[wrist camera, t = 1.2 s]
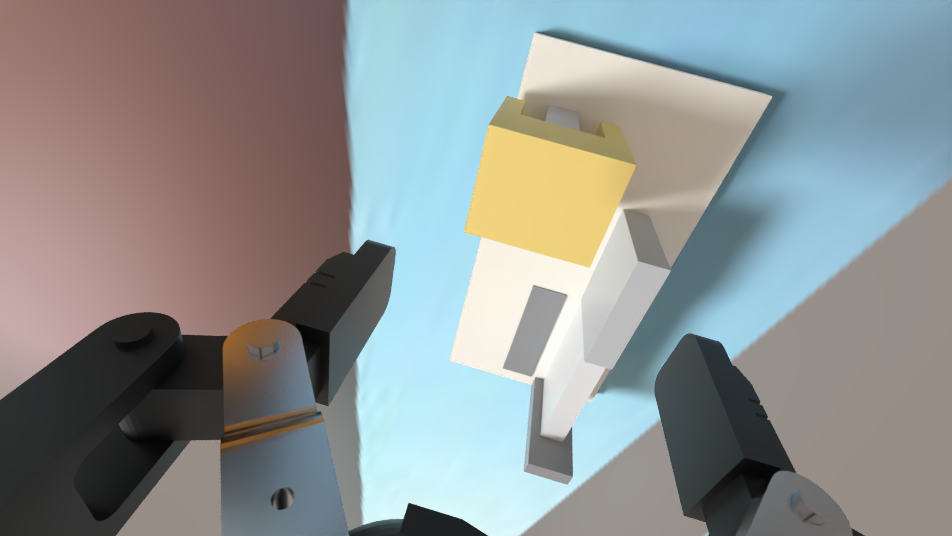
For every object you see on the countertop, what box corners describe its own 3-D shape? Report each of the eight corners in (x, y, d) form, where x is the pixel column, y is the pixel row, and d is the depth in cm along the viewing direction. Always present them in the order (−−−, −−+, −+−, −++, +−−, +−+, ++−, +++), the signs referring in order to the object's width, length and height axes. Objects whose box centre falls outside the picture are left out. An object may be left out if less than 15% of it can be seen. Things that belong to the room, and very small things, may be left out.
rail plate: (535, 32, 21) (520, 44, 14) (764, 93, 21) (867, 137, 14) (452, 352, 35) (423, 440, 27) (590, 392, 34) (596, 493, 27)
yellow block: (507, 96, 21) (488, 124, 16) (619, 126, 21) (636, 165, 16) (485, 184, 24) (464, 232, 19) (584, 211, 24) (589, 268, 19)
